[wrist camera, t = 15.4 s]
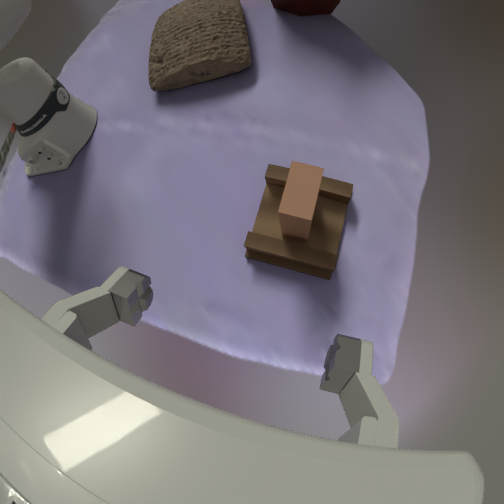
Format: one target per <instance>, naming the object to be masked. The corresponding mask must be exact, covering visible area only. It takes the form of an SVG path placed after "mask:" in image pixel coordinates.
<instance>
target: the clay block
mask: <svg viewBox="0 0 504 504" xmlns="http://www.w3.org/2000/svg"><path fill="white" fill-rule="evenodd" d="M323 170H324V168H320V167H316V166H312V165H308V164H303V163H299V162H294V161H292V163H291V167H290V170H289V174H288V178H287V181H286V185H285V189H284V192H283V196H282V199H281V203H280V207H279V210H278V215H279V221H280V226H281V232H282V236H284V237H288V238H291V239H295V240H299V241H303V242H307V241H308V237H309V233H310V229H311V225H312V221H313V217H314V213H315V209H316V204H317V200H318V195H319V190H320V185H321V180H322V175H323Z"/></svg>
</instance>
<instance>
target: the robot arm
mask: <svg viewBox="0 0 504 504" xmlns="http://www.w3.org/2000/svg"><path fill="white" fill-rule="evenodd" d="M30 10H31V0H0V51H1V49H2V48H3V47H4V46H5V44H6V43H7V42H8V41H9V40H10V39H11V38H12V36H13V35H14V34H15V33H16V31H17V30H18V28H19V27H20V25H21V24H22V23H23V21H24V20H25V18H26V17H27V15H28V14H29V13H30ZM0 114H1V115H3V116H4V117H6V118H8V119H9V120H11V121H12V122H13V125H12V128H11V131H12V129H13V133H14V132H15V129H16V128H17V130H18V132H19V133H20V139H19V146H18V153H19V156H20V158H21V159H22V160H23V161H25V172H26V175H28V176H34V175H39V174H44V173H49V172H54V171H59V170H64V169H67V168H68V167H69V165H70V164H71V162H72V160H73V158H74V157H75V155H76V154H77V153H78V152H79V151H80V149H81V148H82V147H83V146H84V145H85V144H86V142H87V141H88V139H89V138H90V136H91V134H92V132H93V130H94V128H95V125H96V120H97V113H96V110H95V108H94V107H92V106H90V105H88V104H86V103H84V102H83V101H82V100H80V99H78V98H76V97H75V96H73V95H72V94H70V93H69V92H68V91H67V90H66V89H65V87H64V86H63V85H62V84H61V83H60V82H59V81H58V80H57V79H55V78H54V77H52V76H49V75H48V74H47V73H46V72H45V71H44V70H43V69H42V68H41V67H40V66H39V65H38V64H37V63H36V62H35V61H33V60H32V59H30V58H19V59H17V60H15V61H13V62H11V63H9V64H7V65H6V66H4V67H3V68H1V69H0ZM150 284H151V279H150V277H149V276H146V275H144V274H141V273H139V272H136V271H134V270H131V269H128V268H126V267H123V266H121V267H119V268H118V269H117V270H116V271H115V272H114V273H113V274H112V275H111V276H110V277H109V278H108V279H107V280H106V281H105V282H104V283H103V284H102V285H101V286H100V287H95V288H92V289H89V290H87V291H84V292H81V293H79V294H76V295H73V296H71V297H68V298H65V299H63V300H60V301H58V302H56V303H55V304H54V305H53V306H52V307H51V308H50V309H49V310H48V311H47V312H46V314H45V315H44V316H43V317H42V318H41V319H40V318H39V317H37V316H36V315H34V314H33V313H31V312H30V311H29V310H27V309H26V308H25V307H23V306H22V305H20V304H19V303H17V302H16V301H15V300H14V299H13V298H11V297H10V296H9V295H8V294H6V293H5V292H4V291H2V290H0V504H482V503H483V495H484V475H483V473H482V471H481V469H480V467H479V466H478V464H477V462H476V460H475V459H474V457H473V456H472V454H471V453H470V452H468V451H463V450H455V451H454V450H453V451H451V450H450V451H445V450H443V451H442V450H440V451H439V450H413V449H400V448H397V447H398V434H399V419H398V417H397V415H396V413H395V411H394V410H393V408H392V406H391V404H390V402H389V400H388V399H387V397H386V395H385V393H384V392H383V390H382V388H381V386H380V384H379V382H378V381H377V379H376V377H375V376H372V362H373V343H372V342H370V341H366V340H362V339H358V338H354V337H350V336H345V335H341V334H337V335H336V336H335V338H334V342H333V345H331V346H330V348H329V350H328V352H327V355H326V359H325V363H324V368H325V372H324V373H323V375H322V379H321V384H320V389H321V390H325V391H329V392H333V393H337V394H339V398H340V401H341V403H342V406H343V409H344V411H345V414H346V417H347V419H348V422H349V425H350V429H349V430H348V431H347V432H346V433H345V434H343V435H342V436H341V437H340V438H339V440H332V439H327V438H322V437H317V436H312V435H308V434H303V433H299V432H294V431H291V430H286V429H283V428H279V427H275V426H272V425H268V424H264V423H261V422H257V421H254V420H251V419H247V418H244V417H241V416H238V415H235V414H232V413H229V412H226V411H223V410H220V409H217V408H215V407H212V406H209V405H206V404H204V403H201V402H198V401H196V400H193V399H191V398H188V397H185V396H183V395H181V394H178V393H176V392H173V391H171V390H169V389H167V388H164V387H162V386H160V385H157V384H155V383H153V382H151V381H149V380H147V379H145V378H142V377H140V376H138V375H136V374H134V373H132V372H130V371H128V370H126V369H124V368H122V367H120V366H118V365H116V364H114V363H113V362H111V361H109V360H107V359H105V358H103V357H101V356H99V355H98V354H96V353H94V352H93V351H91V349H92V346H91V344H90V342H89V340H88V338H90V337H92V336H93V335H95V334H97V333H99V332H101V331H103V330H105V329H106V328H108V327H110V326H112V325H114V324H116V323H117V322H119V320H120V321H122V322H125V323H127V324H129V325H132V326H135V325H136V324H137V323H138V321H139V320H140V319H141V317H142V312H143V311H145V310H147V309H148V308H149V306H150V305H151V302H152V300H153V290H152V289H151V287H150V286H149V285H150Z"/></svg>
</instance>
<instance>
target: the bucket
mask: <svg viewBox="0 0 504 504" xmlns="http://www.w3.org/2000/svg"><path fill="white" fill-rule="evenodd" d="M271 2H272V4H273V7H274V8H277V9H280V10H283V11H286V12H289V13H292V14H295V15H298V16H308V15H320V14H331V13H332V12H333V11H334V9H335V8H336V6H337V5H338V4H339V2H340V0H271Z"/></svg>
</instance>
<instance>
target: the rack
mask: <svg viewBox="0 0 504 504" xmlns="http://www.w3.org/2000/svg"><path fill="white" fill-rule="evenodd" d="M289 170H290V168H285V167H281V166H276V165H271V164H269V165H268V168H267V171H266V175H265V179H266V183H267V184H266V187H265V191H264V194H263V197H262V201H261V204H260V207H259V211H258V214H257V217H256V221H255V224H254V227H253V231H252V232H249V231H248V234H247V237H246V241H245V244H244V246H245V248H246V249H247V251H246V254H245V257H247V258H251V259H255V260H258V261H262V262H266V263H269V264H273V265H277V266H280V267H284V268H288V269H291V270H295V271H299V272H302V273H306V274H310V275H313V276H317V277H321V278H325V279H328V280H330V278H331V274H332V272H333V271H334V270H335V266H336V262H337V258H338V255H337V250H338V246H339V241H340V237H341V233H342V228H343V224H344V219H345V214H346V210H347V205H348V202H349V200H350V198H351V194H352V189H353V184H350V183H346V182H342V181H339V180H335V179H331V178H327V177H323V176H322V180H321V185H320V190H319V195H318V200H317V204H316V209H315V213H314V217H313V221H312V225H311V229H310V233H309V237H308V241H307V242H303V241H299V240H295V239H291V238H288V237H284V236H282V232H281V226H280V221H279V215H278V210H279V207H280V203H281V199H282V196H283V192H284V189H285V185H286V181H287V178H288V174H289Z"/></svg>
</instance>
